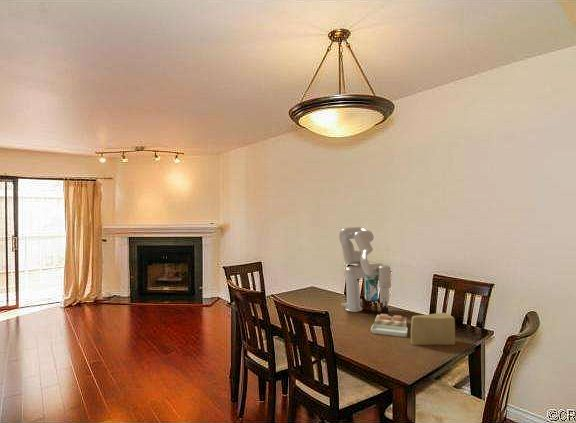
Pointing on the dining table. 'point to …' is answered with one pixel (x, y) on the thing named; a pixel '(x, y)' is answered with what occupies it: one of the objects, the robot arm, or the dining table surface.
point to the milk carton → (371, 288)
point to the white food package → (391, 321)
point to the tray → (389, 330)
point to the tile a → (384, 316)
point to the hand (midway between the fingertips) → (385, 313)
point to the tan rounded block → (433, 329)
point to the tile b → (397, 317)
